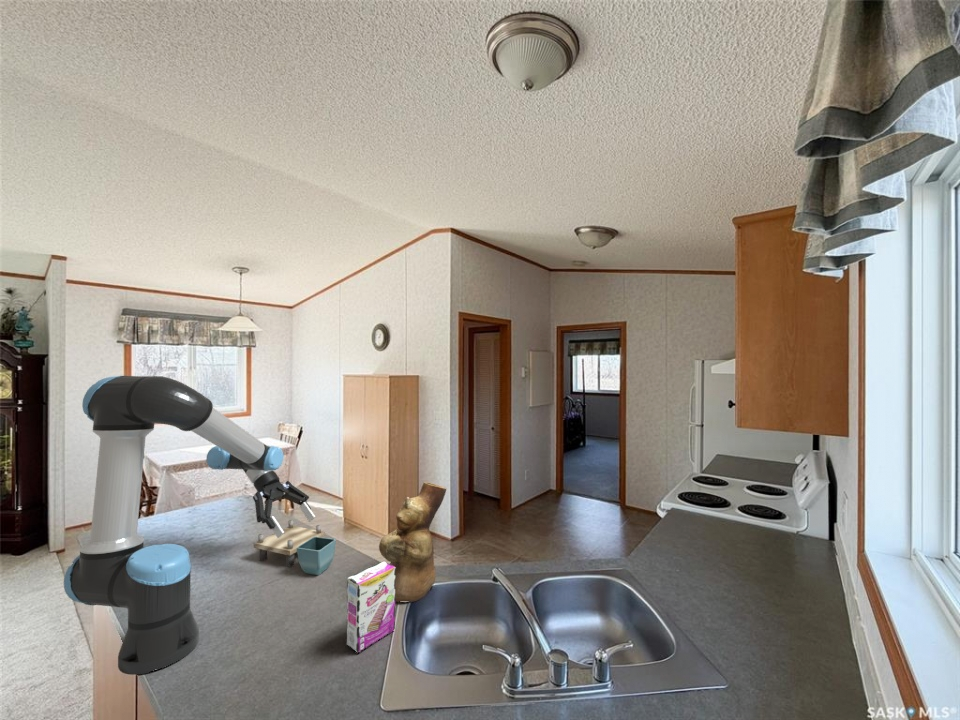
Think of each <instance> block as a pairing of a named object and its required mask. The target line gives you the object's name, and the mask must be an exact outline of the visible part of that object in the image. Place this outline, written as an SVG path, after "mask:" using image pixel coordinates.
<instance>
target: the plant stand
mask: <svg viewBox="0 0 960 720" xmlns="http://www.w3.org/2000/svg"><path fill="white" fill-rule="evenodd" d="M287 523H288V526H287V527H285V528H282V529H283V531H284V533H283V534H282V535H281V537H279V538H277V536H276V535H275V533H274V532H273V534H270V535H268V536H266V537H265V535H264V533H260V534H258V535H257V536H258V537H257V539H258V541H256V542H254V543H253V548H255V549H259V552H258V554H259V561H260V562H263V561H267V560H268V552H273V553H277V554H282V555H285V556H286V557H285V558H286V560H285V561H286V566H285V567H286V568H292V567H294V566H295V554H297V547H298V546H300V545H301V544H303V543H305V542H306V541H308V540H309V539H311V538H313V537H322V538H325V536H326V531H324V530H322V525H321V524H317V525H316V526H315V527H316V528H315V529H311V528H307V527H306V528H305V527H301V526H298V525H297V526H296V525H294V520H293V519H289V520H288V522H287Z"/></svg>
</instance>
